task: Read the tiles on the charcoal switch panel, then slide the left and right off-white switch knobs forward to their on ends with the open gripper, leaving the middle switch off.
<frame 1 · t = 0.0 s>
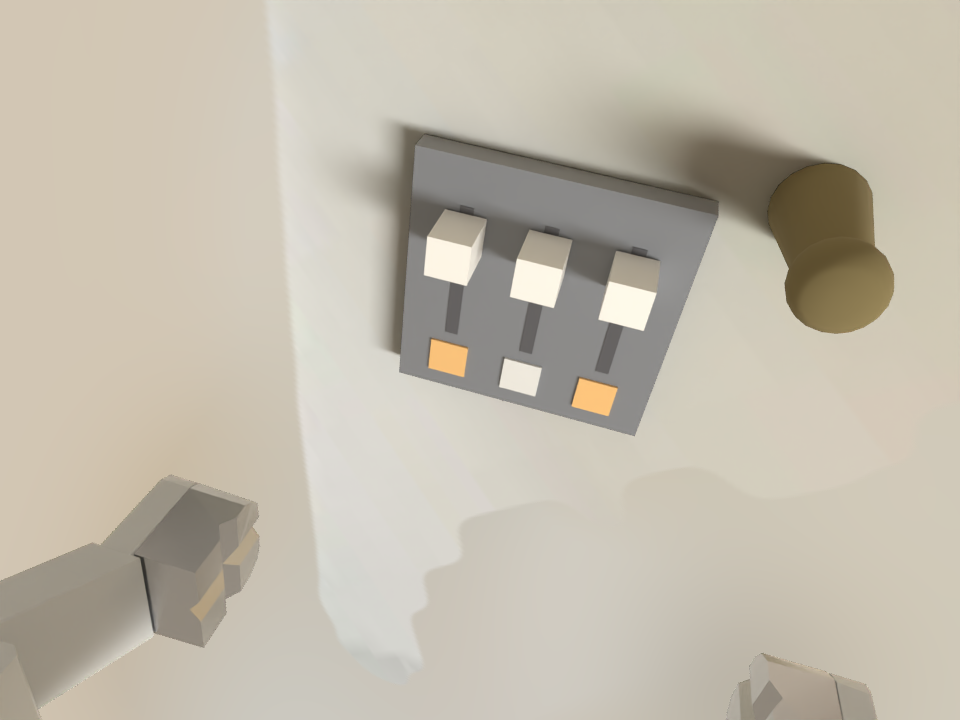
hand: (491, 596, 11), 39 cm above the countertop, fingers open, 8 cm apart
switch panel: (540, 290, 54), on the countertop
cork: (818, 207, 45), on the countertop
switch middle: (541, 268, 48), point 4 cm above the countertop, slide at 0.0 cm
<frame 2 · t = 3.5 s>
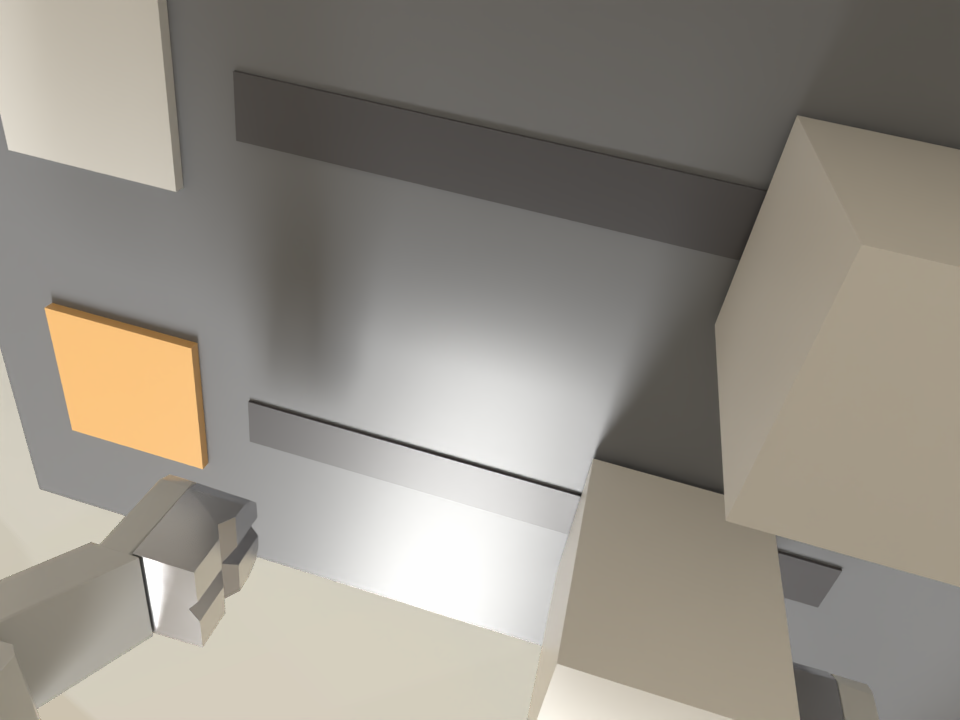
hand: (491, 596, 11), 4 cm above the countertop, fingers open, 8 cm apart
switch panel: (556, 136, 12), on the countertop
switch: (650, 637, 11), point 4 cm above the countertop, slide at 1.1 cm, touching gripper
switch middle: (906, 331, 8), point 4 cm above the countertop, slide at 0.0 cm
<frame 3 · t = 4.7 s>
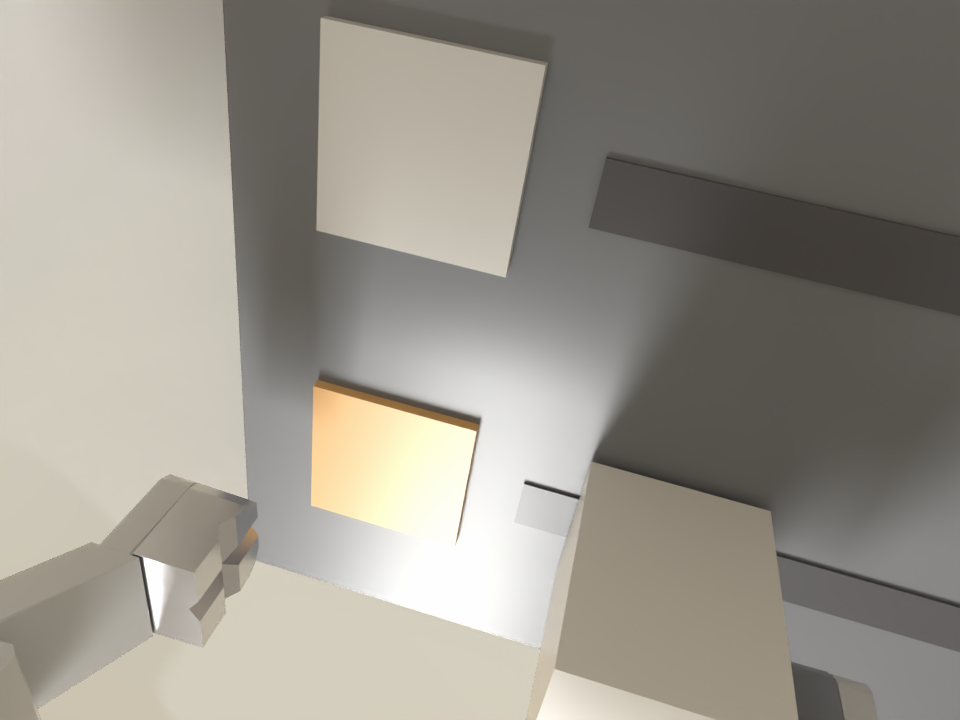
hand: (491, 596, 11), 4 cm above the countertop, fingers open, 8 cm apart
switch panel: (901, 216, 11), on the countertop
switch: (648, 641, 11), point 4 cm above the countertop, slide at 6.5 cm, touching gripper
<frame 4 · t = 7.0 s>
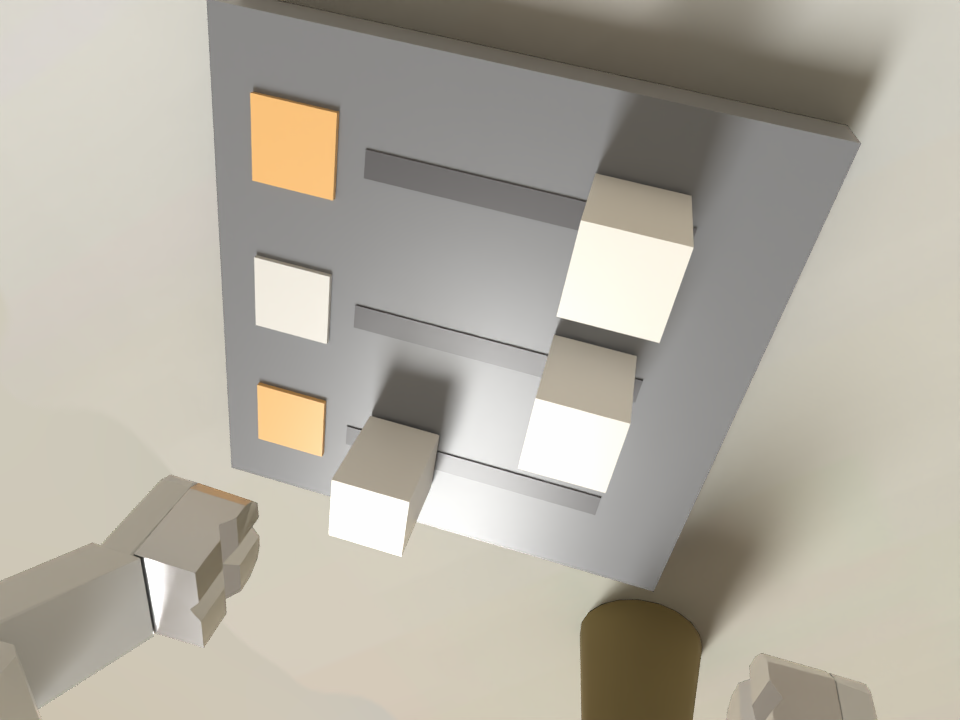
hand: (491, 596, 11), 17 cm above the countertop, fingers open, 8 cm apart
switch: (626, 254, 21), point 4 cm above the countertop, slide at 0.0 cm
switch panel: (480, 320, 28), on the countertop
cork: (639, 637, 36), on the countertop
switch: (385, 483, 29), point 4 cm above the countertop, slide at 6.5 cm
switch middle: (578, 410, 25), point 4 cm above the countertop, slide at 0.0 cm
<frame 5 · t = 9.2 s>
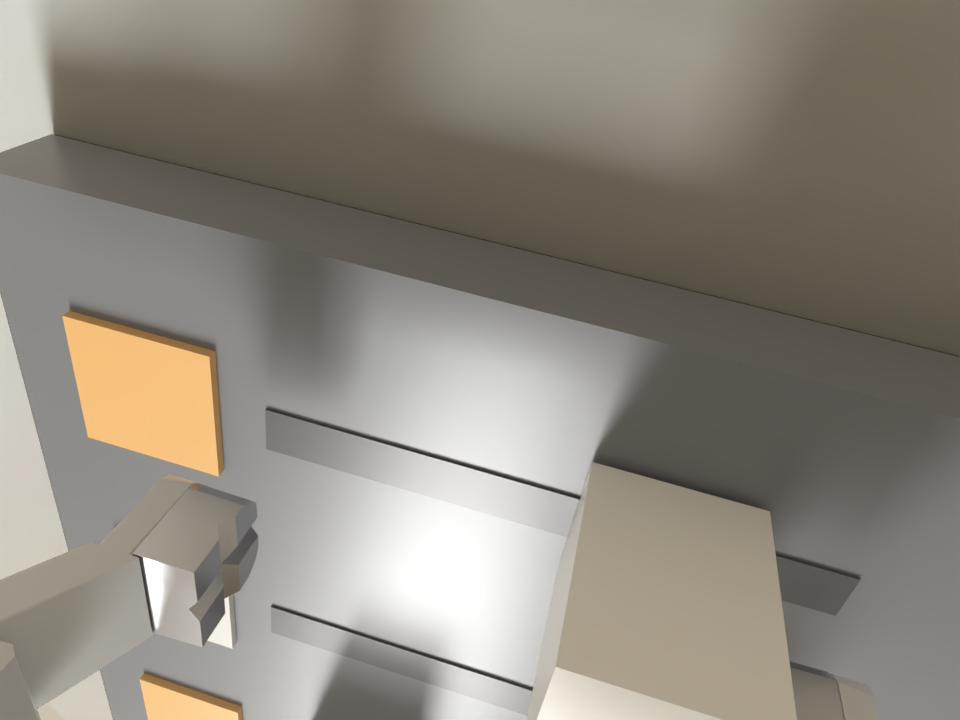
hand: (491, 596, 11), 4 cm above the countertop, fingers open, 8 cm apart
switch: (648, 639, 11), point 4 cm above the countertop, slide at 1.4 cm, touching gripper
switch panel: (472, 606, 18), on the countertop
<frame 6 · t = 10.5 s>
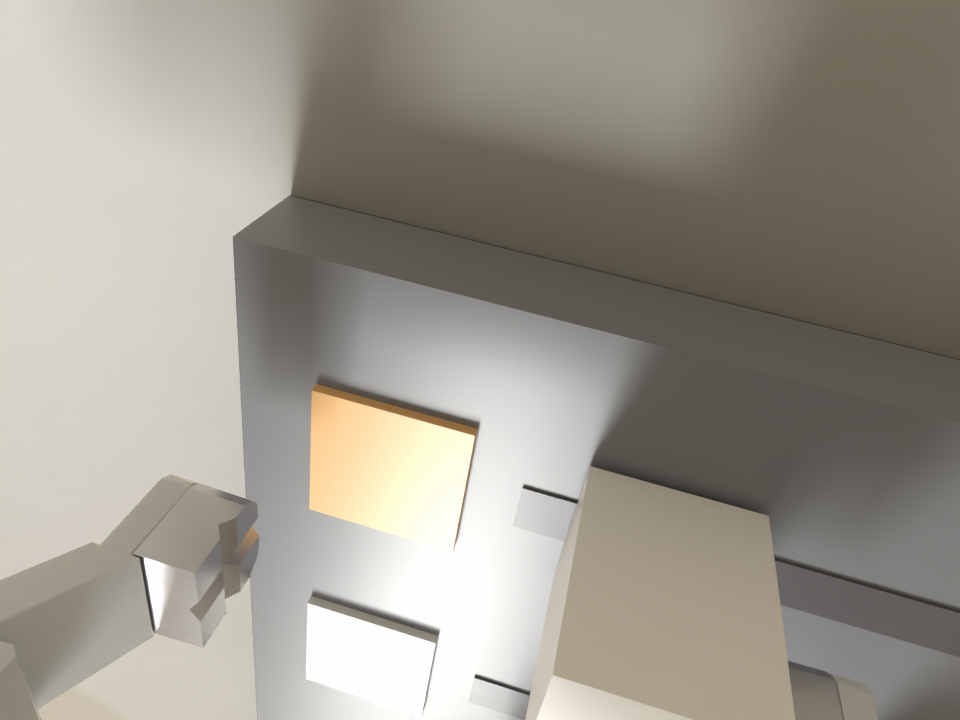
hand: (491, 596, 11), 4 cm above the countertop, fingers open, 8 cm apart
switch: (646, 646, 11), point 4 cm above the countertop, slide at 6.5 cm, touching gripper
switch panel: (667, 671, 18), on the countertop
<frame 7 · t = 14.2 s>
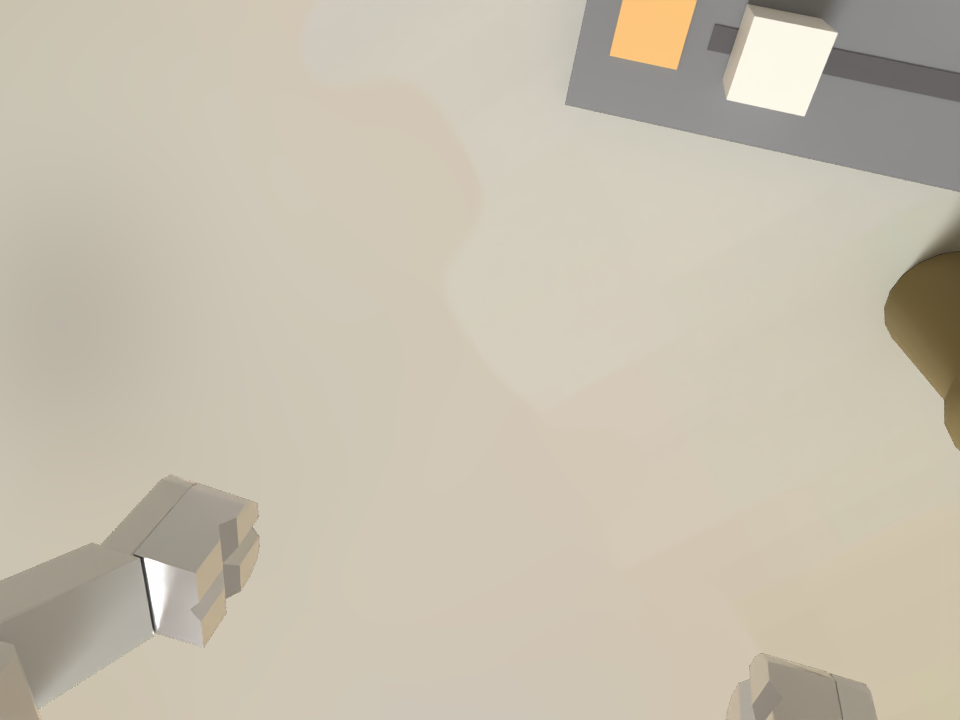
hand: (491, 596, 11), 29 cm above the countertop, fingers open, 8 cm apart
cork: (950, 304, 36), on the countertop
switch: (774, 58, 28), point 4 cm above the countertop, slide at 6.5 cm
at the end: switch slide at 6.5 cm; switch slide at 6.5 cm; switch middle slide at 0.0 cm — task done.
